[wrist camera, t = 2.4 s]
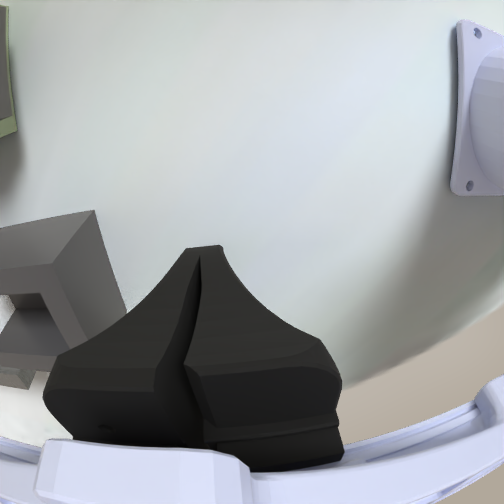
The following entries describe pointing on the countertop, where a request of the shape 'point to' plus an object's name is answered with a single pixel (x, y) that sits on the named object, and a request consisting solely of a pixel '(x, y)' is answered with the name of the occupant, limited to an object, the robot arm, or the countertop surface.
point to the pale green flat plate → (5, 79)
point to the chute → (55, 288)
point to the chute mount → (16, 377)
